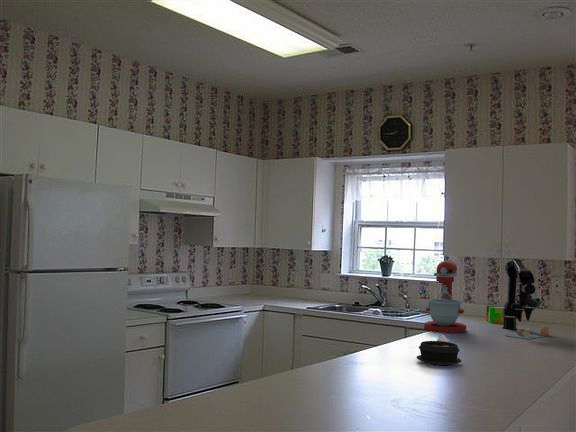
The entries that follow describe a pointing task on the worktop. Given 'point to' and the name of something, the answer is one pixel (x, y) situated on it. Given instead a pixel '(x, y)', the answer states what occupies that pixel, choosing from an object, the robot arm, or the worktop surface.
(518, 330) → the oak block
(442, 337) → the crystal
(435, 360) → the casserole
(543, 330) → the brown rounded lump
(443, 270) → the stand mixer
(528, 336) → the board
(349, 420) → the worktop surface
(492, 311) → the puzzle toy
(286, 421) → the worktop surface
